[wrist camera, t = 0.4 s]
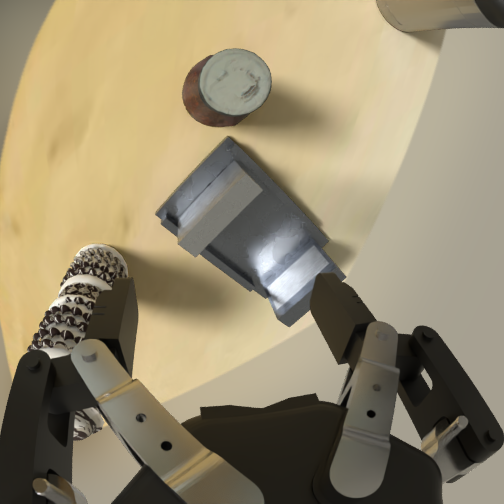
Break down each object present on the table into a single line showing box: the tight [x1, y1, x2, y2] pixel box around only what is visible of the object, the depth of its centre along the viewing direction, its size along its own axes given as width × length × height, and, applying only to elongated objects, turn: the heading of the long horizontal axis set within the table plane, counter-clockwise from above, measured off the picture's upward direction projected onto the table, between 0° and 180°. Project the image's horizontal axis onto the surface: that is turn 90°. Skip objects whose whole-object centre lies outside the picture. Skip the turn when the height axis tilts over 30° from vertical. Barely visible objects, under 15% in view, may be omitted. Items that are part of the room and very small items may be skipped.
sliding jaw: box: [178, 160, 263, 257], centre depth 33 cm, size 10×2×7 cm, turn 133°
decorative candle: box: [27, 243, 128, 441], centre depth 28 cm, size 9×9×25 cm
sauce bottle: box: [182, 48, 272, 127], centre depth 23 cm, size 6×6×20 cm
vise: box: [155, 136, 346, 327], centre depth 37 cm, size 13×21×9 cm, turn 43°
